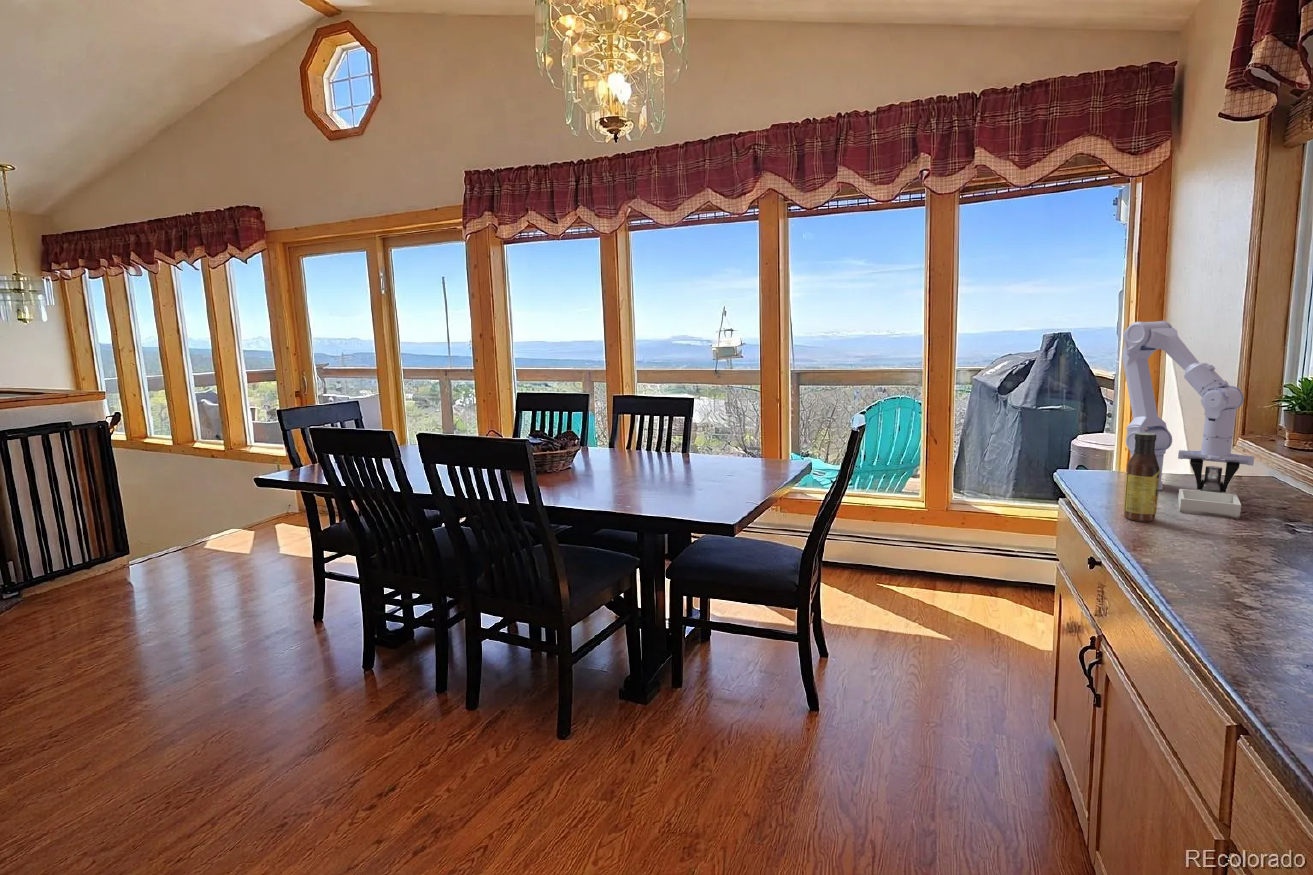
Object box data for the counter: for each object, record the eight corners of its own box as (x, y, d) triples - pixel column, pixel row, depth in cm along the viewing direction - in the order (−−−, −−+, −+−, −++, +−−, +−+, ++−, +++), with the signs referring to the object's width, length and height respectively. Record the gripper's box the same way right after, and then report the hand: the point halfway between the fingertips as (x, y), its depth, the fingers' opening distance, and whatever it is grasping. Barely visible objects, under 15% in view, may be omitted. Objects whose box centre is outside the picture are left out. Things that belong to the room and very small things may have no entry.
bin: (1177, 501, 175) (1179, 488, 174) (1234, 507, 169) (1236, 494, 168) (1179, 511, 166) (1181, 498, 165) (1239, 518, 160) (1241, 505, 159)
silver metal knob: (1200, 491, 177) (1203, 464, 176) (1221, 494, 174) (1225, 466, 173) (1199, 495, 174) (1202, 467, 172) (1221, 498, 171) (1224, 470, 170)
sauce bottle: (1160, 523, 158) (1170, 436, 154) (1129, 522, 159) (1138, 436, 156) (1146, 515, 164) (1155, 431, 161) (1117, 514, 165) (1125, 431, 162)
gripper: (1179, 435, 173) (1173, 489, 175) (1256, 441, 164) (1249, 498, 166) (1181, 431, 178) (1175, 483, 181) (1256, 437, 169) (1249, 491, 171)
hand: (1211, 490), depth 174 cm, fingers closed on silver metal knob, 4 cm apart
